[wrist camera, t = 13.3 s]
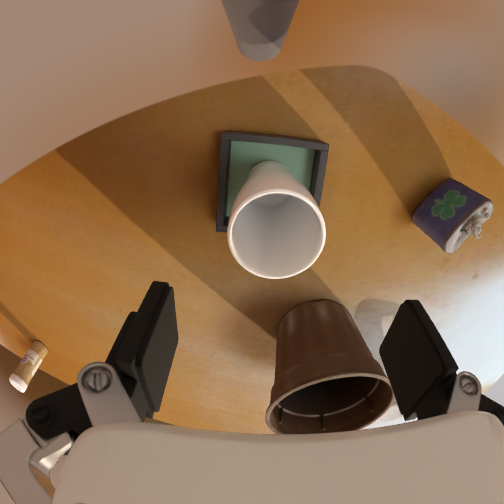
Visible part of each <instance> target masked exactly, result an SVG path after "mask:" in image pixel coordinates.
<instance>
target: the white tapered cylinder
mask: <svg viewBox="0 0 504 504" xmlns="http://www.w3.org/2000/svg"><path fill="white" fill-rule="evenodd" d="M325 238H326V228H325V222H324V219H323V216H322V214H321V212H320V209H319V207H318V205H317V203H316V201H315V199H314V198H313V196H312V195H311V193H310V192H309V190H308V189H307V188H306V187H305V186H304V185H303V184H302V183H301V182H300V181H299V180H298V179H297V178H296V177H295V176H294V175H292V174H291V172H290V171H289V169H288V168H287V167H286V166H284V165H283V164H281V163H279V162H276V161H263V162H260V163H258V164H257V165H255V166H254V167H253V168H252V169H251V170H250V172H249V173H248V176H247V179H246V181H245V182H244V184H243V185H242V187H241V189H240V190H239V192H238V194H237V196H236V198H235V200H234V202H233V205H232V208H231V212H230V216H229V223H228V230H227V239H228V245H229V248H230V251H231V253H232V255H233V256H234V258H235V259H236V261H237V262H238V263H239V264H240V265H241V266H242V267H243V268H244V269H246V270H247V271H249V272H251V273H253V274H255V275H257V276H260V277H264V278H270V279H281V278H287V277H291V276H294V275H297V274H299V273H301V272H303V271H304V270H306V269H307V268H308V267H310V266H311V265H312V264H313V263H314V262H315V261H316V259H317V258H318V257H319V255H320V253H321V251H322V249H323V247H324V243H325Z"/></svg>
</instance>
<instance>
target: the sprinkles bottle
mask: <svg viewBox="0 0 504 504" xmlns="http://www.w3.org/2000/svg"><path fill="white" fill-rule="evenodd" d="M47 353H48V351H47V349H46V347H45V346H44V345H43V344H42V343H41V342H39V341H37V340H35V341H34V342H33V344H32V345H31V347H30V348H29V350H28V351H27V352H26V354H25V355H24V357H23V359H22V360H21V362H20V363H19V365H18V367H17V368H16V370H15V371H14V373H13V374H12V375H11V376H10V378H9V381H10V383H11V384H12V385H13V386H14V387H15V388H16V389H17V390H19V391H20V392H24V391H25V390H26V389H27V386H28V383H29V381H30V380H31V378H32V377H33V375H34V374H35V372H36V370H37V369H38V367H39V366H40V364H41V362H42V360H43V358H44V357H45V355H46V354H47Z"/></svg>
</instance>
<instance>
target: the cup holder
mask: <svg viewBox="0 0 504 504" xmlns="http://www.w3.org/2000/svg"><path fill="white" fill-rule="evenodd" d="M328 149H329V144H327V143H325V142H323V141H319V140H313V139H306V138H299V137H291V136H283V135H274V134H265V133H254V132H242V131H227V130H225V131H224V132H222V133H221V143H220V158H219V175H218V194H217V216H216V232H227V230H228V223H229V216H230V212H231V208H232V205H233V202H234V200H235V198H236V196H237V194H238V192H239V190H240V189H241V187H242V185H243V184H244V182H245V181H246V179H247V176H248V173H249V172H250V170H251V169H252V168H253V167H254V166H255V165H257V164H258V163H260V162H263V161H276V162H279V163H281V164H283V165H284V166H286V167H287V168H288V169H289V171H290V172H291V174H292V175H294V176H295V177H296V178H297V179H298V180H299V181H300V182H301V183H302V184H303V185H304V186H305V187H306V188H307V189H308V190H309V192H310V193H311V195H312V196H313V198H314V199H315V201H316V203H317V205H318V207H319V205H320V200H321V194H322V188H323V182H324V176H325V170H326V163H327V157H328Z"/></svg>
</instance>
